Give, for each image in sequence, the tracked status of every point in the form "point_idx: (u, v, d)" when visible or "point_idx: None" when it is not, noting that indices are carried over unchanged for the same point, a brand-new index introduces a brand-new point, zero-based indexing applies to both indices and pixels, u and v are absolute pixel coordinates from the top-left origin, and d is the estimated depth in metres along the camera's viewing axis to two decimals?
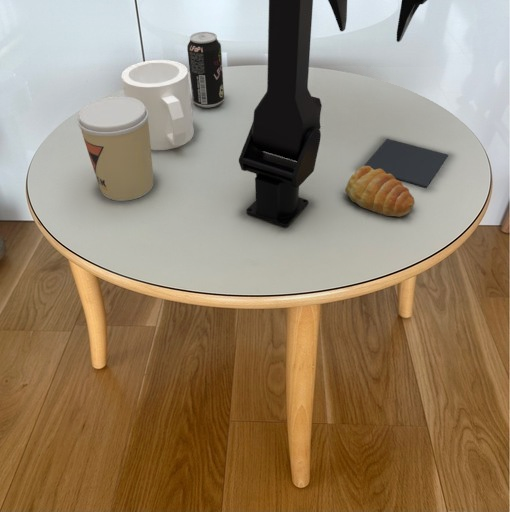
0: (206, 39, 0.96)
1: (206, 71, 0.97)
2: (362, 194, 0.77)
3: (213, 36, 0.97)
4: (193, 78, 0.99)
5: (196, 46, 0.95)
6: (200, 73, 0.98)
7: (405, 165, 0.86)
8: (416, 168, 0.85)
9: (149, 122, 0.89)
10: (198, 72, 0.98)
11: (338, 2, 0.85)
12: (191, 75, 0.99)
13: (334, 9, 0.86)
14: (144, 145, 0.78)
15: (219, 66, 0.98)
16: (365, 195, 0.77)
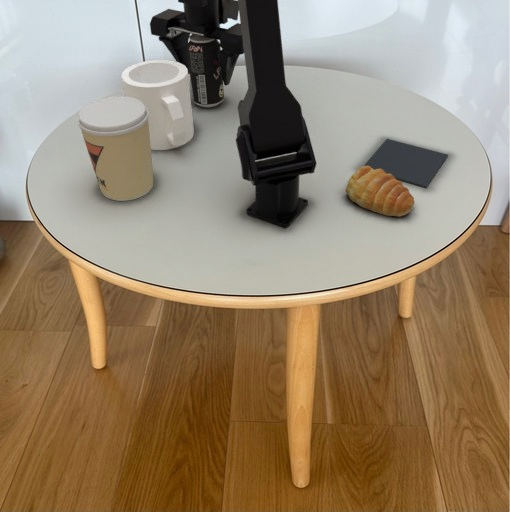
0: (205, 39, 0.96)
1: (206, 71, 0.97)
2: (362, 194, 0.77)
3: None
4: (192, 78, 0.99)
5: (195, 45, 0.95)
6: (200, 73, 0.98)
7: (405, 165, 0.86)
8: (416, 168, 0.85)
9: (149, 122, 0.89)
10: (198, 72, 0.98)
11: (177, 52, 0.99)
12: (191, 75, 0.99)
13: (175, 57, 1.00)
14: (144, 144, 0.78)
15: (219, 66, 0.98)
16: (365, 195, 0.77)
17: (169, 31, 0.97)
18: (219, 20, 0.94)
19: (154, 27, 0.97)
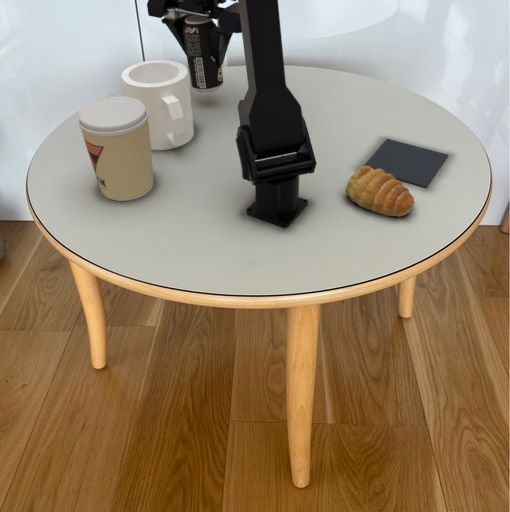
0: (201, 20, 0.94)
1: (203, 53, 0.95)
2: (362, 194, 0.77)
3: None
4: (190, 61, 0.97)
5: (191, 27, 0.93)
6: (197, 55, 0.96)
7: (405, 165, 0.86)
8: (416, 168, 0.85)
9: (149, 122, 0.89)
10: (195, 54, 0.96)
11: (180, 35, 0.96)
12: (188, 59, 0.97)
13: (178, 40, 0.97)
14: (144, 144, 0.78)
15: None
16: (365, 195, 0.77)
17: (166, 12, 0.95)
18: None
19: (151, 7, 0.95)
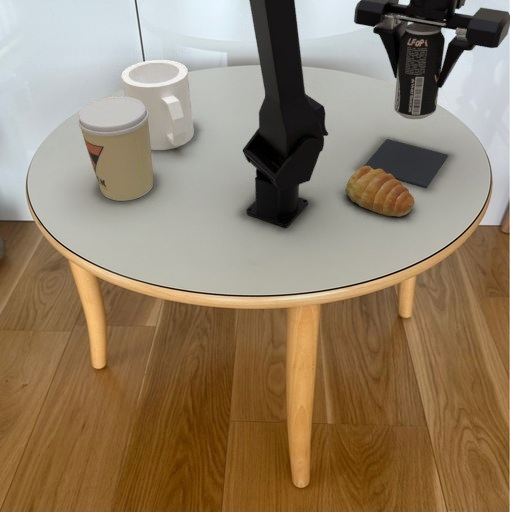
0: (428, 30, 0.74)
1: (427, 71, 0.75)
2: (362, 194, 0.77)
3: None
4: (405, 81, 0.77)
5: (418, 38, 0.73)
6: (418, 74, 0.75)
7: (405, 165, 0.86)
8: (416, 168, 0.85)
9: (149, 122, 0.89)
10: (415, 73, 0.75)
11: (395, 48, 0.76)
12: (402, 78, 0.77)
13: (390, 55, 0.77)
14: (144, 144, 0.78)
15: (441, 65, 0.76)
16: (365, 195, 0.77)
17: (382, 19, 0.74)
18: (456, 4, 0.72)
19: (362, 13, 0.74)
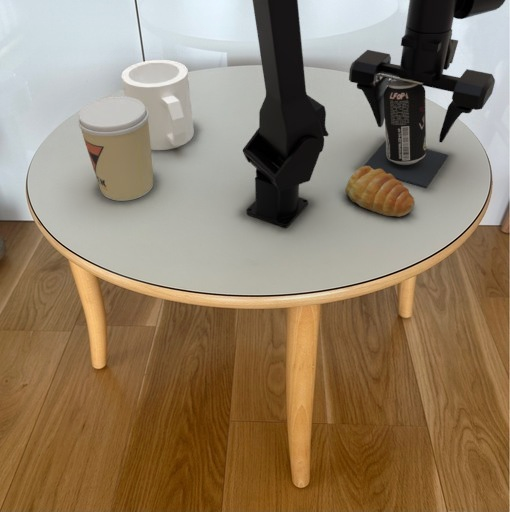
0: (408, 83, 0.80)
1: (411, 120, 0.80)
2: (362, 194, 0.77)
3: None
4: (392, 131, 0.82)
5: (399, 92, 0.79)
6: (403, 124, 0.81)
7: (405, 165, 0.86)
8: (416, 168, 0.85)
9: (149, 122, 0.89)
10: (401, 123, 0.81)
11: (378, 101, 0.82)
12: (389, 128, 0.82)
13: (373, 108, 0.83)
14: (144, 144, 0.78)
15: (424, 113, 0.81)
16: (365, 195, 0.77)
17: (375, 78, 0.80)
18: (443, 66, 0.77)
19: (357, 73, 0.80)
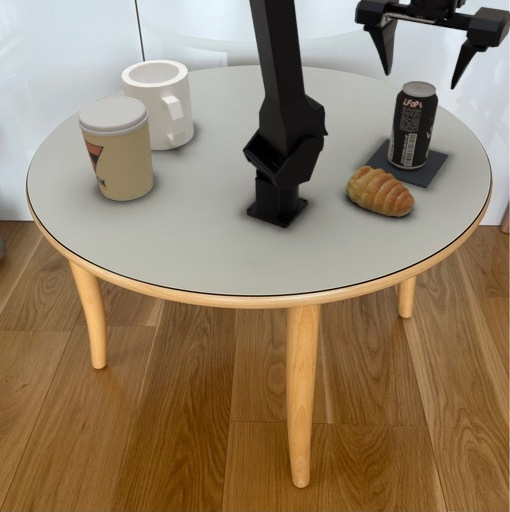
0: (423, 91, 0.79)
1: (420, 129, 0.80)
2: (362, 194, 0.77)
3: (430, 87, 0.79)
4: (399, 136, 0.82)
5: (413, 100, 0.78)
6: (412, 131, 0.80)
7: None
8: (416, 168, 0.85)
9: (149, 122, 0.89)
10: (409, 130, 0.80)
11: (385, 45, 0.77)
12: (396, 132, 0.82)
13: (380, 53, 0.77)
14: (144, 145, 0.78)
15: (433, 123, 0.81)
16: (365, 195, 0.77)
17: (383, 19, 0.74)
18: (456, 3, 0.72)
19: (363, 13, 0.74)
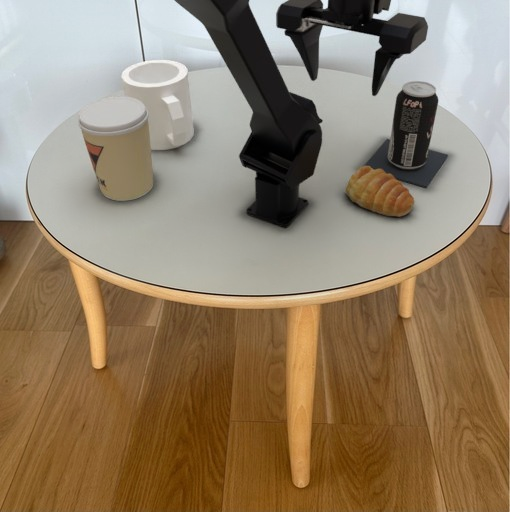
0: (423, 91, 0.79)
1: (420, 129, 0.80)
2: (362, 194, 0.77)
3: (430, 87, 0.79)
4: (399, 136, 0.82)
5: (413, 100, 0.78)
6: (412, 131, 0.80)
7: None
8: (416, 168, 0.85)
9: (149, 122, 0.89)
10: (409, 130, 0.80)
11: (307, 50, 0.76)
12: (396, 133, 0.82)
13: (303, 57, 0.77)
14: (144, 145, 0.78)
15: (433, 123, 0.81)
16: (365, 195, 0.77)
17: (302, 23, 0.74)
18: (373, 9, 0.71)
19: (283, 17, 0.74)
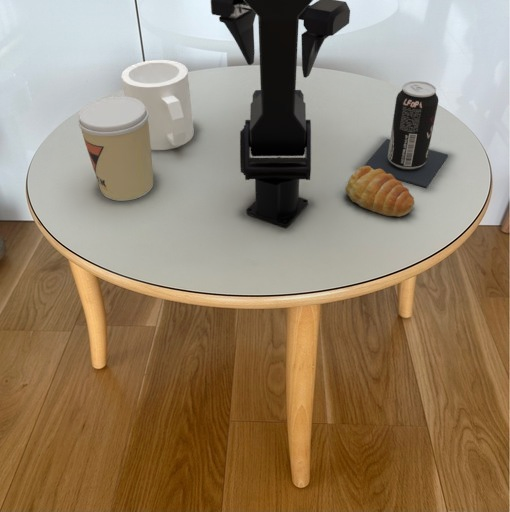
0: (423, 91, 0.79)
1: (420, 129, 0.80)
2: (362, 194, 0.77)
3: (430, 87, 0.79)
4: (399, 136, 0.82)
5: (413, 100, 0.78)
6: (412, 131, 0.80)
7: None
8: (416, 168, 0.85)
9: (149, 122, 0.89)
10: (409, 130, 0.80)
11: (241, 35, 0.80)
12: (396, 133, 0.82)
13: (238, 42, 0.81)
14: (144, 144, 0.78)
15: (433, 123, 0.81)
16: (365, 195, 0.77)
17: (235, 10, 0.78)
18: None
19: (216, 4, 0.78)
